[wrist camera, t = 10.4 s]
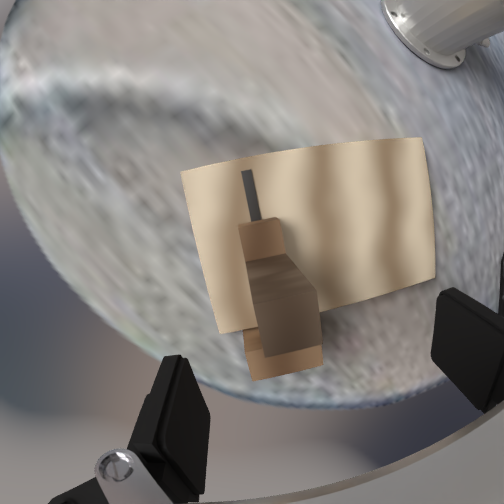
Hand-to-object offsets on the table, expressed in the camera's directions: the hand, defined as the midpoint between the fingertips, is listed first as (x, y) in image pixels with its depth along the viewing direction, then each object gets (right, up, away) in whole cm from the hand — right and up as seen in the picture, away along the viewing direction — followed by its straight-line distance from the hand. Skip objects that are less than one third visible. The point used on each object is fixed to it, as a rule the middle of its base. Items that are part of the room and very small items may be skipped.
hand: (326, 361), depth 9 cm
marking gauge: (-1, +1, +16) cm, 16 cm away
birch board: (+4, +6, +16) cm, 17 cm away
